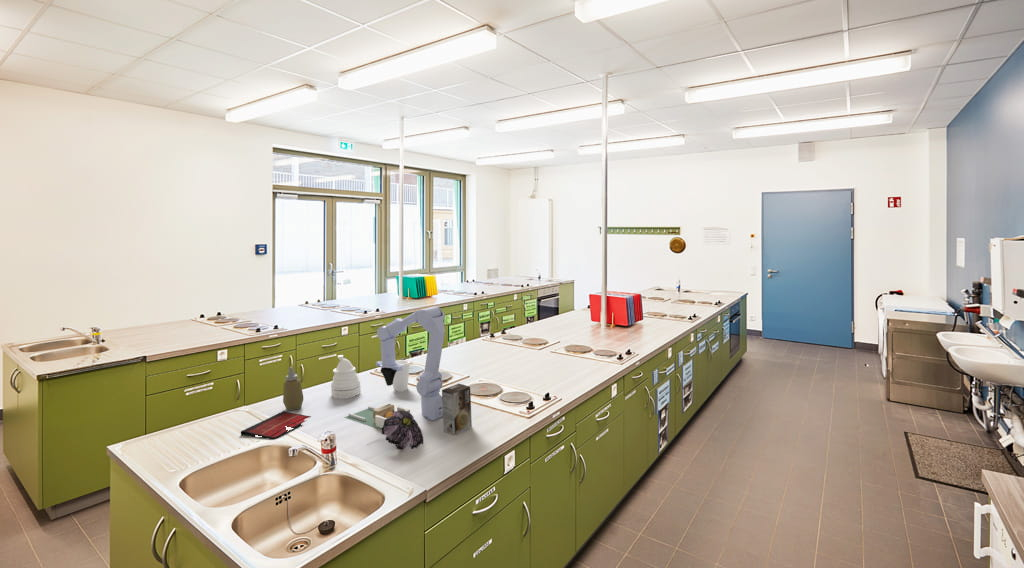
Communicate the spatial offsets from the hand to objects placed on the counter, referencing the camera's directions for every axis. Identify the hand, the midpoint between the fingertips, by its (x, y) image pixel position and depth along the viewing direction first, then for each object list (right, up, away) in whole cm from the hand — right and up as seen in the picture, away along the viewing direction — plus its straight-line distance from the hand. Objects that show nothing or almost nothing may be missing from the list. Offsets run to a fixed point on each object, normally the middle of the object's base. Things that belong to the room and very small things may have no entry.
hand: (389, 384), depth 204 cm
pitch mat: (-1, -11, -14) cm, 18 cm away
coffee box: (+32, -12, -25) cm, 42 cm away
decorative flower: (+14, -13, -36) cm, 41 cm away
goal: (+7, -11, -19) cm, 23 cm away
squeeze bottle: (-41, -11, +1) cm, 43 cm away
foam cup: (-1, -7, +24) cm, 25 cm away
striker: (+2, -10, -16) cm, 19 cm away
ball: (+5, -9, -19) cm, 21 cm away
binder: (-38, -13, -18) cm, 44 cm away
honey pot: (-25, -8, +19) cm, 32 cm away
